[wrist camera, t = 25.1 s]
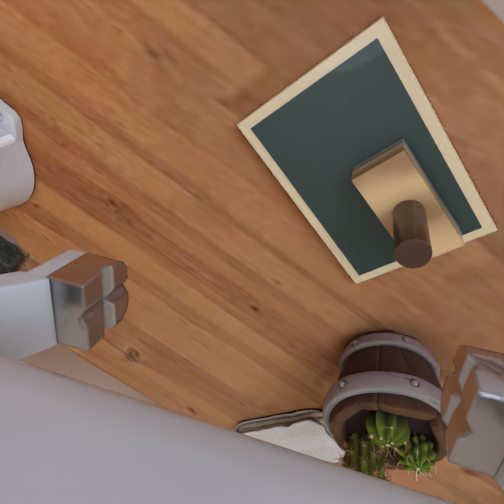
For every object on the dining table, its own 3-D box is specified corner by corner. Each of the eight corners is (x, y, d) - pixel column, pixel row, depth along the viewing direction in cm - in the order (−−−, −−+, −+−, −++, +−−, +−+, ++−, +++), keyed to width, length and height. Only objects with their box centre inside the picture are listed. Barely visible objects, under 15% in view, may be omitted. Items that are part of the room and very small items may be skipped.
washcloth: (360, 446, 68) (360, 464, 65) (273, 457, 77) (270, 473, 74) (323, 403, 63) (321, 422, 61) (235, 420, 72) (230, 437, 70)
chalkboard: (239, 121, 40) (236, 125, 39) (382, 15, 32) (383, 17, 31) (356, 278, 47) (355, 285, 47) (495, 224, 40) (497, 231, 39)
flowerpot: (404, 296, 47) (415, 469, 32) (472, 374, 52) (511, 558, 36) (306, 338, 55) (277, 491, 40) (373, 402, 60) (370, 562, 45)
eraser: (352, 167, 38) (346, 217, 31) (402, 137, 36) (408, 185, 29) (411, 249, 42) (417, 310, 35) (460, 228, 39) (477, 290, 32)
